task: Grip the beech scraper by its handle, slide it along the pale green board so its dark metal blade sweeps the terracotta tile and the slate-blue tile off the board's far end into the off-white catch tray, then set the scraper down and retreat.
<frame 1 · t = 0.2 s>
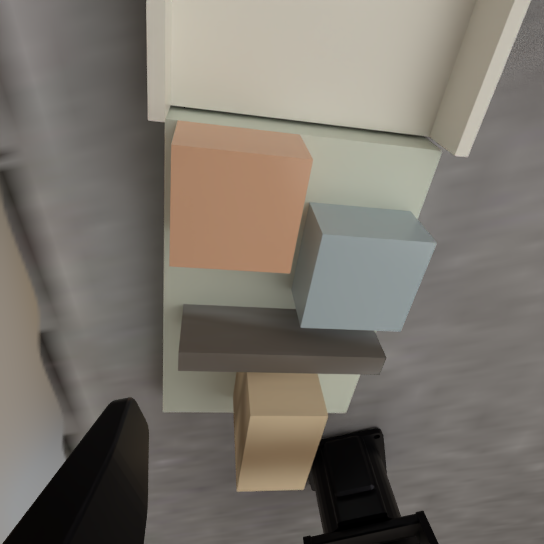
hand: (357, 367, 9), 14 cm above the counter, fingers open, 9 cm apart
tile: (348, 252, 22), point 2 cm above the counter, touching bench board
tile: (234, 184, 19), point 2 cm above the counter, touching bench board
scraper: (267, 363, 25), point 2 cm above the counter, touching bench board
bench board: (274, 282, 25), on the counter
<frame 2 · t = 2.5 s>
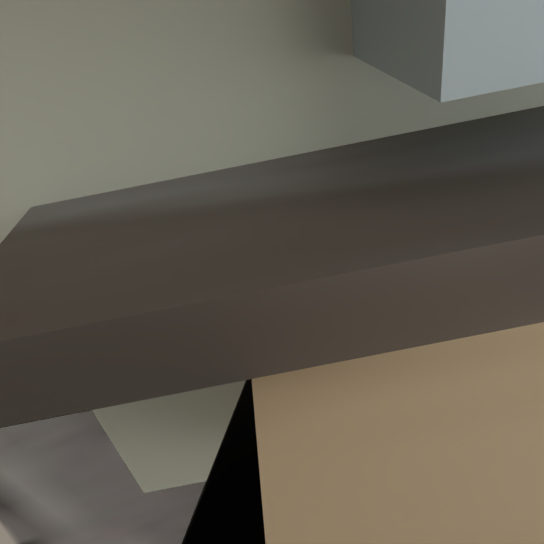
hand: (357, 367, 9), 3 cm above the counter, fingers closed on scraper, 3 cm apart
scraper: (345, 334, 9), point 2 cm above the counter, touching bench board, gripper
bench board: (305, 102, 9), on the counter
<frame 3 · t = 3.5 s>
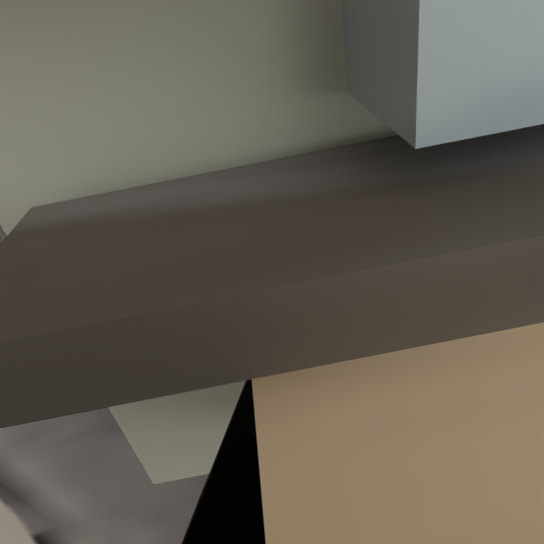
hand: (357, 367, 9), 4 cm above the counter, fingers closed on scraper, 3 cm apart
scraper: (345, 334, 9), point 3 cm above the counter, touching gripper
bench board: (304, 125, 9), on the counter
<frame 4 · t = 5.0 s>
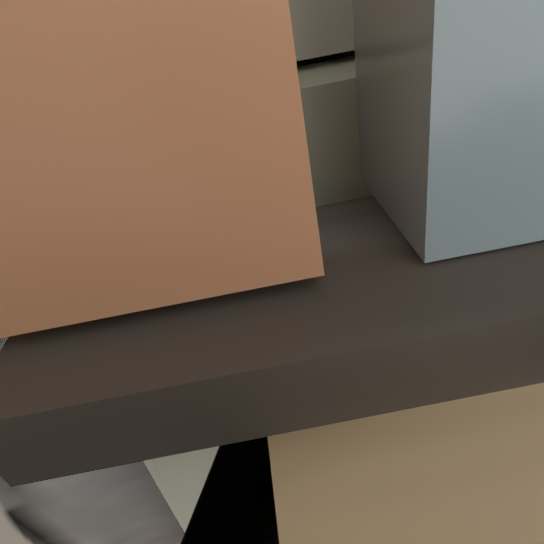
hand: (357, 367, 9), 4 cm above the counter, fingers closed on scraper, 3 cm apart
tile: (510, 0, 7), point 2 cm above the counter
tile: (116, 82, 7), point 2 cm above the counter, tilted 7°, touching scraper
scraper: (348, 366, 10), point 3 cm above the counter, touching gripper, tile
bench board: (333, 367, 14), on the counter
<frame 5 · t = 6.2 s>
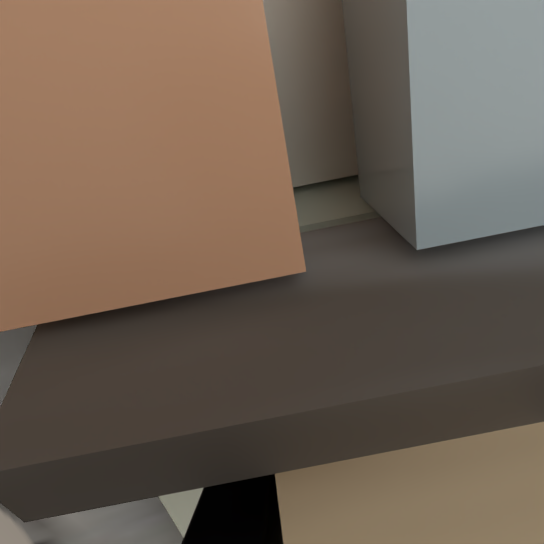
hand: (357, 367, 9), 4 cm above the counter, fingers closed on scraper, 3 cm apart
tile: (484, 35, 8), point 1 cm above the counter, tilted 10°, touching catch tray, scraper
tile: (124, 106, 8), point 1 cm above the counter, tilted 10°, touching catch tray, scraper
scraper: (349, 376, 10), point 3 cm above the counter, touching gripper, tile, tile
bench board: (338, 418, 15), on the counter
when the fingers open (3 cm above the counter, at t = 7.3 s): scraper stays where it is, resting on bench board.
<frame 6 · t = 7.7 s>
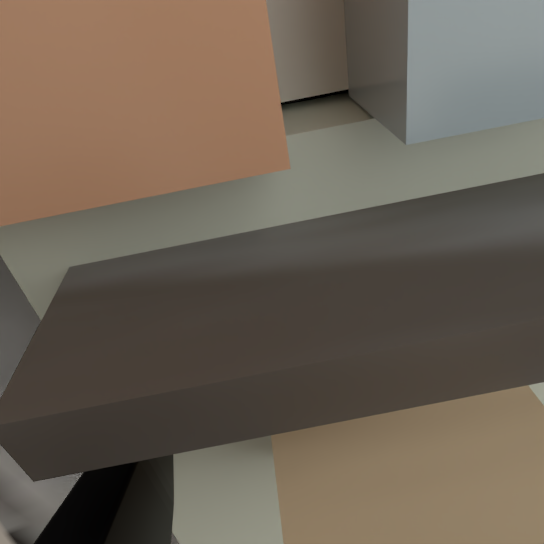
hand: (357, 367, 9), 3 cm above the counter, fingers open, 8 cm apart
scraper: (347, 369, 10), point 2 cm above the counter, touching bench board
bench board: (336, 391, 14), on the counter
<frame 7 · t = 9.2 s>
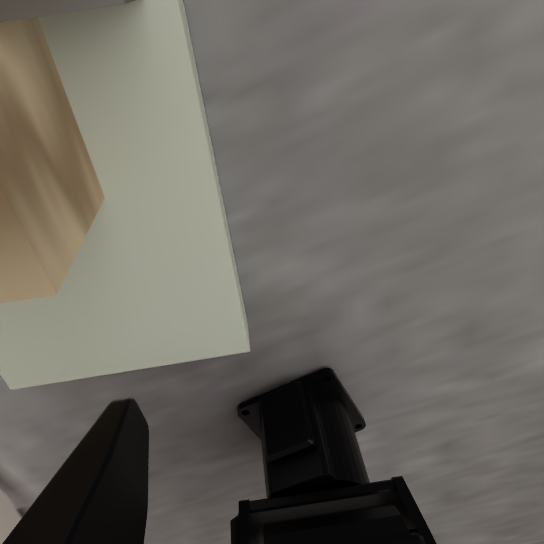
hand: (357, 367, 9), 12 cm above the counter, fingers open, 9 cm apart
scraper: (22, 124, 14), point 2 cm above the counter, touching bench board
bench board: (73, 187, 18), on the counter
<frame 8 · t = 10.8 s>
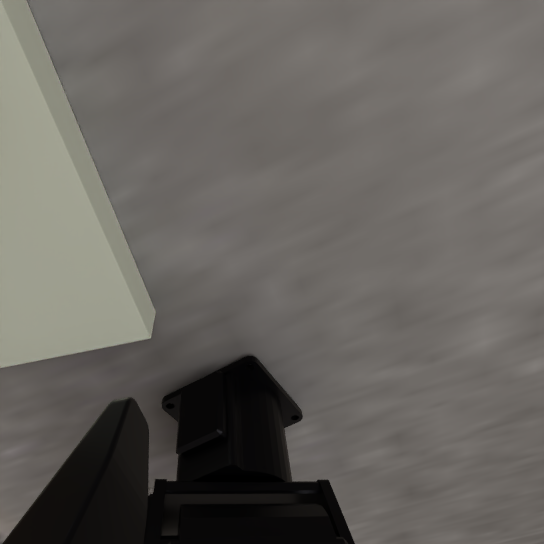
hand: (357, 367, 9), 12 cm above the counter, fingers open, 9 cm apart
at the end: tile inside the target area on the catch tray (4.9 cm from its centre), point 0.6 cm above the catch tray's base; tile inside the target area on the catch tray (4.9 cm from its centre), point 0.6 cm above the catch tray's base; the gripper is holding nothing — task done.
